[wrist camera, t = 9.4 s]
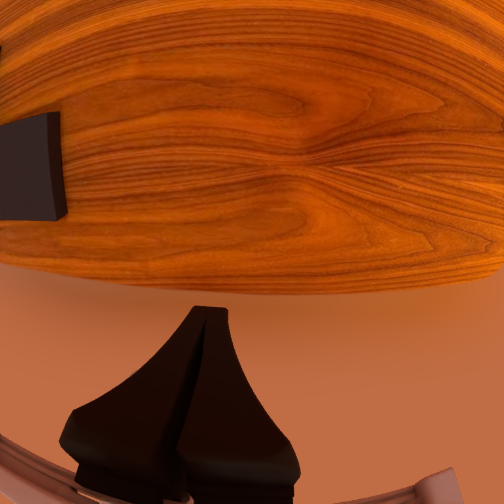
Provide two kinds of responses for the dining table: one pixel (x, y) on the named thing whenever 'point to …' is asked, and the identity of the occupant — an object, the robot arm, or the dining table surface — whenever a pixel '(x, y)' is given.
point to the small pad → (31, 169)
